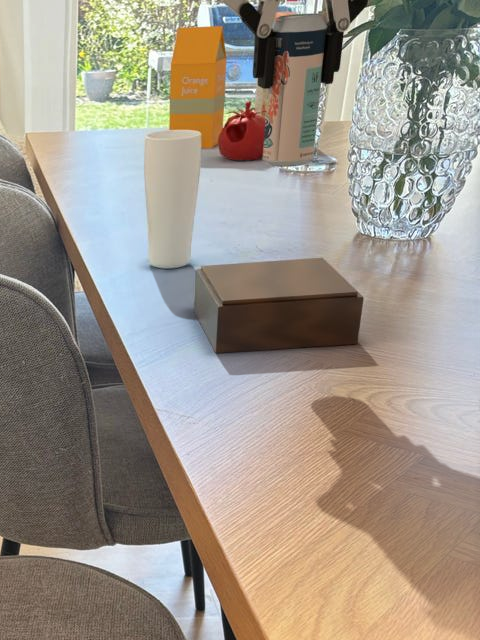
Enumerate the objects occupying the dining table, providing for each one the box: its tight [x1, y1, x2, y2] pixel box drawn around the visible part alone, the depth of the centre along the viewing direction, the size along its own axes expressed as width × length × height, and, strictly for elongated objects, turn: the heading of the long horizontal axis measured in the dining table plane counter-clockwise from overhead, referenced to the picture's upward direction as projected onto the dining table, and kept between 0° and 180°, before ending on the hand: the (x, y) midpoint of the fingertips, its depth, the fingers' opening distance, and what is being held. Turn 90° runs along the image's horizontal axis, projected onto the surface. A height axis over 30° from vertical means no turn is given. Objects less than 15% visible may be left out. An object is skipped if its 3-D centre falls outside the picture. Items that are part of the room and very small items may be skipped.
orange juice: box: [168, 25, 228, 149], centre depth 191 cm, size 8×9×20 cm
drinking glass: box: [143, 129, 202, 270], centre depth 122 cm, size 7×7×15 cm
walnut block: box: [193, 257, 364, 354], centre depth 103 cm, size 14×14×5 cm
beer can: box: [261, 12, 328, 168], centre depth 91 cm, size 5×5×12 cm
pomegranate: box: [217, 100, 266, 161], centre depth 179 cm, size 10×10×9 cm
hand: (294, 82), depth 91 cm, fingers closed on beer can, 4 cm apart
